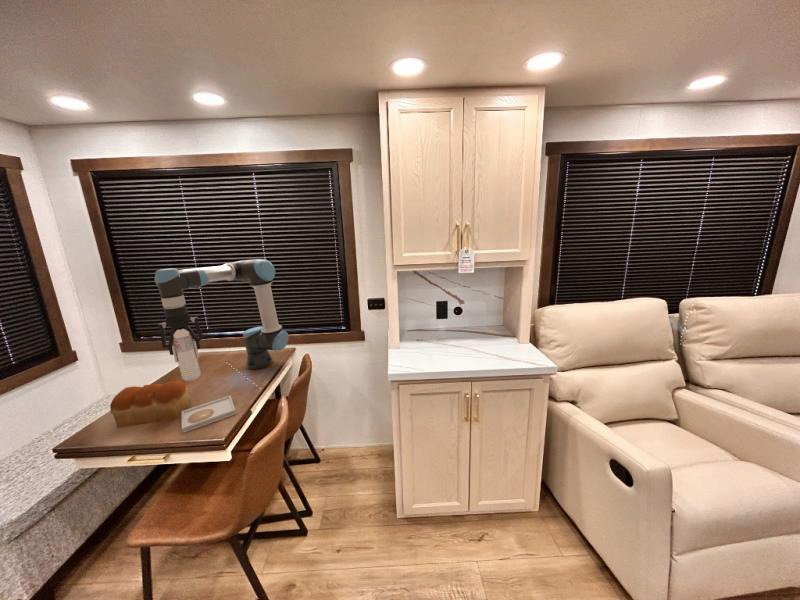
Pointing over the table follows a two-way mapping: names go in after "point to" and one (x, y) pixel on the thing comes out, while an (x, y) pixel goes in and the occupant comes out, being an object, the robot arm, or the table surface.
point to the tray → (207, 413)
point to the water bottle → (186, 354)
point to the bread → (149, 403)
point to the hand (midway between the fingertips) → (187, 358)
